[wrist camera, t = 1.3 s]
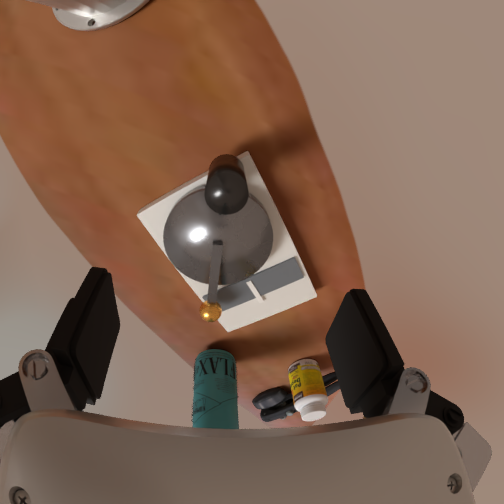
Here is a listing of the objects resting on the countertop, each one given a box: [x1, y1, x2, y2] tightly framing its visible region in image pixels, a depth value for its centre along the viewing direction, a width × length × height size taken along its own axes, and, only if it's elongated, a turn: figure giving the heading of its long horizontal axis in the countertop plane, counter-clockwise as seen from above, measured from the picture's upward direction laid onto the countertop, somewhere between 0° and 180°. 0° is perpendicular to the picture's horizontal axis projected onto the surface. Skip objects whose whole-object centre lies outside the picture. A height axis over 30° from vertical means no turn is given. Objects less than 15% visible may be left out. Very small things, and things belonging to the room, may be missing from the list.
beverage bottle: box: [192, 349, 239, 429], centre depth 35 cm, size 6×7×20 cm
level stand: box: [137, 151, 317, 332], centre depth 33 cm, size 20×13×2 cm, turn 26°
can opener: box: [252, 373, 340, 422], centre depth 49 cm, size 18×7×6 cm, turn 117°
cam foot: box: [163, 154, 273, 322], centre depth 27 cm, size 19×11×7 cm, turn 171°
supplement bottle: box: [288, 359, 328, 421], centre depth 43 cm, size 6×6×10 cm
